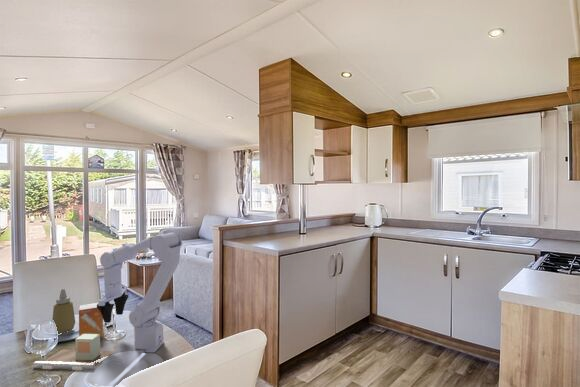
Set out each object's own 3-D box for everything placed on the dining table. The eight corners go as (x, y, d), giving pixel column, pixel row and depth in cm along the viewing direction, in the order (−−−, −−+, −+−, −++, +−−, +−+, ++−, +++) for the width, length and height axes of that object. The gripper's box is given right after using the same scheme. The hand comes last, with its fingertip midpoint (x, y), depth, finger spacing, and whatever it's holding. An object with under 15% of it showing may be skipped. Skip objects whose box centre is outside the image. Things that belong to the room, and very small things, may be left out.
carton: (84, 353, 115) (83, 333, 115) (100, 354, 115) (99, 334, 115) (75, 359, 111) (75, 338, 111) (92, 360, 111) (92, 339, 111)
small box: (79, 344, 125) (78, 310, 125) (80, 337, 131) (79, 305, 130) (103, 339, 129) (102, 306, 129) (103, 333, 134) (103, 301, 134)
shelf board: (115, 354, 117) (115, 346, 117) (91, 374, 104) (91, 365, 104) (62, 352, 119) (62, 345, 118) (32, 372, 106) (32, 363, 106)
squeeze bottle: (66, 337, 131) (65, 292, 131) (46, 337, 131) (45, 292, 131) (80, 328, 139) (79, 286, 139) (61, 329, 139) (60, 286, 139)
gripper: (114, 277, 133) (115, 310, 133) (90, 288, 119) (90, 325, 119) (131, 277, 133) (131, 311, 133) (108, 288, 118) (109, 326, 118)
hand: (113, 318), depth 126 cm, fingers open, 7 cm apart
